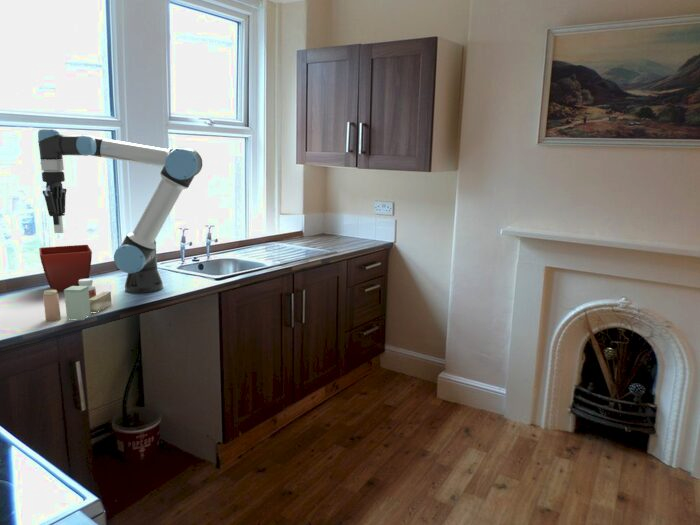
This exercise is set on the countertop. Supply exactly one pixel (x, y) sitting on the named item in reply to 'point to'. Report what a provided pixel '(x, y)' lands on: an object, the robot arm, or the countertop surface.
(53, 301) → the spice jar
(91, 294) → the pill bottle
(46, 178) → the robot arm
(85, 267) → the plant pot
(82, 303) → the tea tin
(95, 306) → the block
